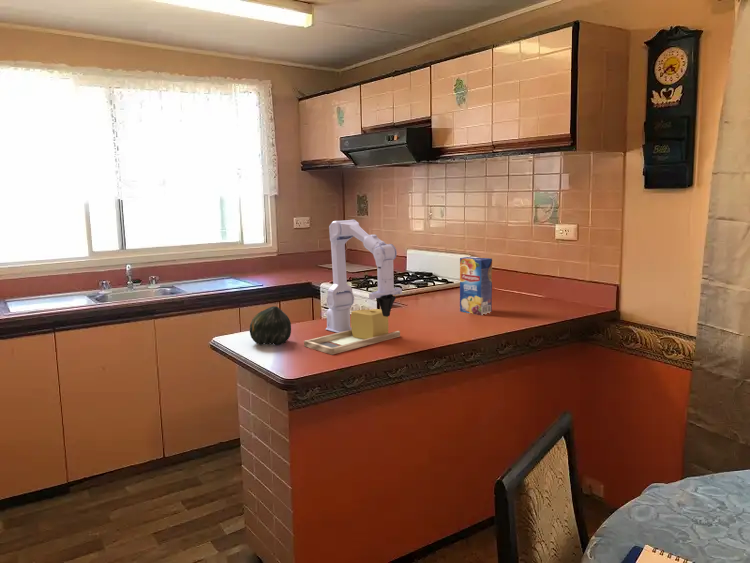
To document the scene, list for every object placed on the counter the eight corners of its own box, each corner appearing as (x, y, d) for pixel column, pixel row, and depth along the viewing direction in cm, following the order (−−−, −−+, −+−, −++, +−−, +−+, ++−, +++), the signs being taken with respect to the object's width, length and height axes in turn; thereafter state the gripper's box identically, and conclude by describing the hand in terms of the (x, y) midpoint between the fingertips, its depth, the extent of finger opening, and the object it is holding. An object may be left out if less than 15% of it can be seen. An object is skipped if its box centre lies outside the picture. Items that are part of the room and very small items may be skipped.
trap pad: (309, 346, 219) (309, 345, 219) (326, 342, 224) (326, 341, 224) (332, 353, 209) (332, 352, 209) (349, 348, 215) (349, 348, 214)
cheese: (368, 332, 237) (368, 306, 236) (390, 336, 231) (389, 310, 229) (350, 337, 229) (350, 311, 228) (372, 341, 223) (372, 315, 221)
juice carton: (491, 312, 267) (492, 258, 263) (480, 315, 262) (481, 260, 258) (470, 308, 276) (470, 256, 272) (459, 311, 271) (459, 258, 267)
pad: (328, 341, 225) (328, 341, 225) (353, 335, 233) (353, 335, 233) (351, 348, 215) (351, 347, 215) (376, 341, 223) (376, 341, 223)
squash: (245, 325, 229) (250, 301, 218) (283, 322, 235) (290, 298, 224) (251, 357, 221) (257, 333, 210) (291, 353, 227) (299, 329, 216)
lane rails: (304, 346, 219) (303, 340, 219) (371, 329, 241) (371, 324, 241) (331, 354, 207) (331, 349, 207) (400, 336, 230) (400, 331, 229)
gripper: (378, 282, 208) (379, 321, 210) (407, 277, 217) (408, 314, 220) (364, 280, 213) (365, 318, 215) (394, 275, 222) (394, 311, 225)
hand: (386, 316), depth 218 cm, fingers closed
